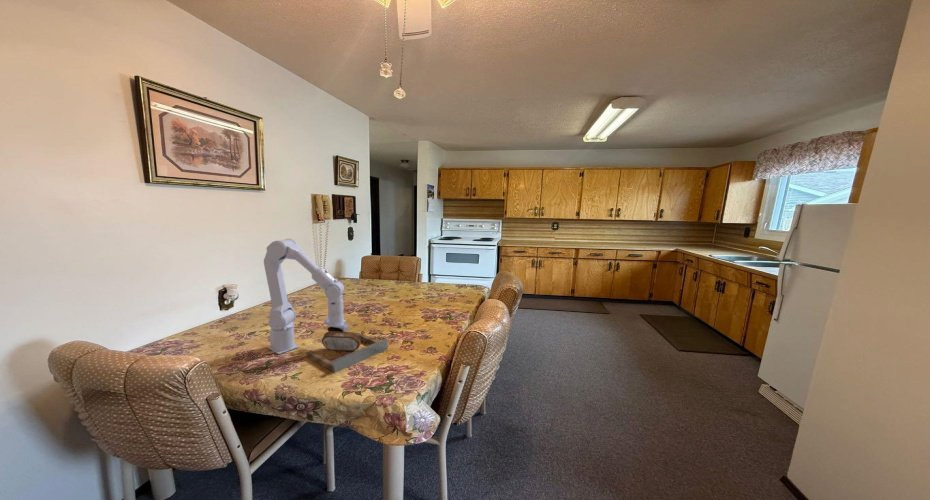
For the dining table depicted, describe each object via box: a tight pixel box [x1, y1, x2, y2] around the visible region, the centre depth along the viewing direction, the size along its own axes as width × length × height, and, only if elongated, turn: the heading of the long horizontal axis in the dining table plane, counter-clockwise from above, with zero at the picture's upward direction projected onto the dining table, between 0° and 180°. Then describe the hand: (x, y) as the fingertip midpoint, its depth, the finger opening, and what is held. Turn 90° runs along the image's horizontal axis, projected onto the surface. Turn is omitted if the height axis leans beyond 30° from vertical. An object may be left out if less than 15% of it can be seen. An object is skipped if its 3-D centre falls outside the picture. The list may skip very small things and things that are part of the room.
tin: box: [321, 331, 362, 352], centre depth 119 cm, size 15×3×8 cm, turn 88°
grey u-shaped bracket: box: [306, 332, 389, 374], centre depth 118 cm, size 19×23×4 cm
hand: (336, 343), depth 123 cm, fingers closed
